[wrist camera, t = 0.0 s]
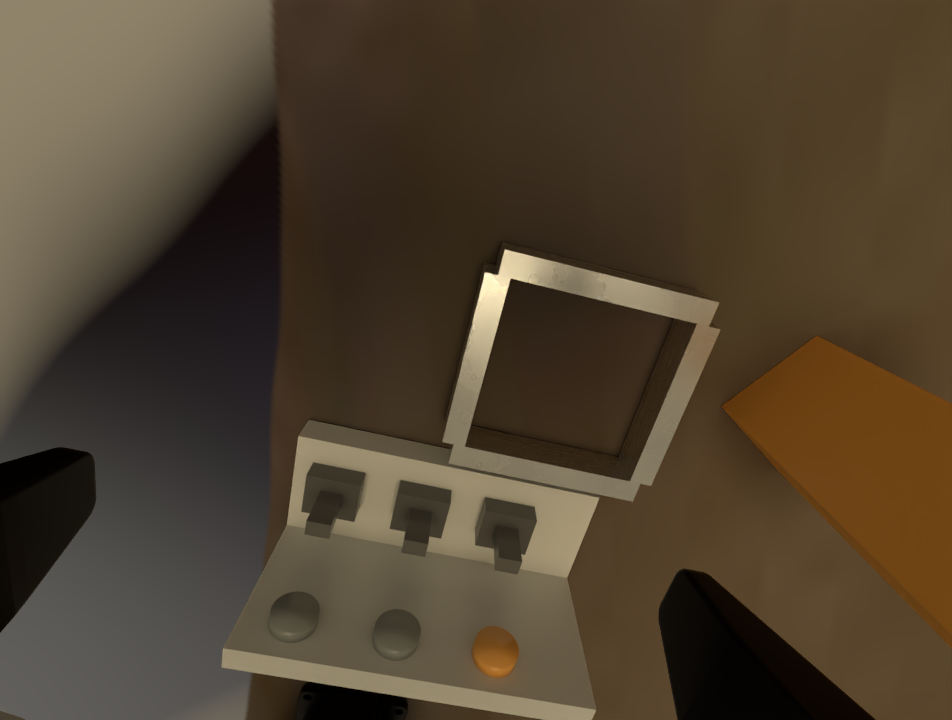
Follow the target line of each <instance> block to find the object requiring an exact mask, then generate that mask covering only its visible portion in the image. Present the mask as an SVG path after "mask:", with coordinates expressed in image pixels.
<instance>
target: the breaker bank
mask: <svg viewBox="0 0 952 720" xmlns="http://www.w3.org/2000/svg"><path fill="white" fill-rule="evenodd" d="M449 452H450V449H447V448H442V447H437V446H432V445H428V444H423V443H418V442H413V441H408V440H404V439H399V438H394V437H389V436H385V435H380V434H375V433H370V432H365V431H361V430H356V429H351V428H346V427H342V426H337V425H332V424H327V423H322V422H318V421H313V420H308V422H307V423H306V425H305V427H304V428H303V430H302V431H301V433H300V434H299V436H298V443H297V451H296V458H295V466H294V474H293V481H292V489H291V497H290V505H289V512H288V520H287V526H286V528H285V529H284V531H283V533H282V535H281V537H280V539H279V541H278V543H277V545H276V547H275V549H274V551H273V553H272V555H271V556H270V558H269V560H268V562H267V564H266V566H265V568H264V570H263V572H262V574H261V576H260V578H259V580H258V582H257V584H256V585H255V587H254V589H253V591H252V593H251V595H250V597H249V599H248V601H247V603H246V605H245V607H244V609H243V611H242V613H241V614H240V616H239V618H238V620H237V622H236V624H235V626H234V628H233V630H232V632H231V634H230V636H229V638H228V640H227V641H226V643H225V645H224V647H223V654H222V667H223V668H228V669H235V670H241V671H247V672H253V673H259V674H265V675H272V676H278V677H284V678H290V679H296V680H302V681H309V682H315V683H321V684H327V685H333V686H339V687H346V688H352V689H358V690H364V691H370V692H376V693H383V694H389V695H395V696H401V697H407V698H413V699H420V700H426V701H432V702H438V703H444V704H450V705H457V706H463V707H469V708H475V709H481V710H487V711H494V712H500V713H506V714H512V715H518V716H524V717H531V718H537V719H543V720H592V718H593V716H594V714H595V712H596V706H595V702H594V697H593V693H592V688H591V684H590V679H589V675H588V670H587V666H586V661H585V657H584V652H583V648H582V643H581V639H580V634H579V630H578V625H577V621H576V616H575V612H574V607H573V603H572V598H571V593H570V589H569V584H568V580H567V577H568V574H569V572H570V570H571V567H572V565H573V562H574V560H575V557H576V555H577V552H578V550H579V547H580V545H581V542H582V540H583V537H584V535H585V533H586V530H587V528H588V525H589V523H590V520H591V518H592V515H593V513H594V510H595V508H596V505H597V503H598V500H599V495H598V494H594V493H589V492H584V491H579V490H574V489H570V488H565V487H560V486H555V485H550V484H545V483H540V482H536V481H531V480H526V479H521V478H516V477H511V476H507V475H502V474H497V473H492V472H487V471H482V470H477V469H473V468H468V467H463V466H458V465H453V464H449Z"/></svg>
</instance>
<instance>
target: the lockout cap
mask: <svg viewBox="0 0 952 720" xmlns="http://www.w3.org/2000/svg"><path fill="white" fill-rule="evenodd" d="M721 407H722V408H723V409H724V410H725V411H726V412H727V414H728V415H729V416H730V417H731V418H732V419H733V420H734V422H735V423H736V424H737V425H738V426H739V427H740V428H741V429H742V431H743V432H744V433H745V434H746V435H747V436H748V437H749V439H750V440H751V441H752V442H753V443H754V444H755V445H756V447H757V448H758V449H759V450H760V451H761V452H762V453H763V455H764V456H765V457H766V458H767V459H768V460H769V461H770V462H771V464H772V465H773V466H774V467H775V468H776V469H777V470H778V472H779V473H780V474H781V475H782V476H783V477H784V478H785V479H786V480H787V481H788V482H789V483H790V484H791V485H792V486H793V487H794V488H795V489H796V490H797V491H798V492H799V493H800V494H801V495H802V496H803V497H804V498H805V499H806V500H807V501H808V502H809V503H810V504H811V505H812V506H813V507H814V508H815V509H816V510H817V511H818V512H819V513H820V514H821V515H822V516H823V517H824V518H825V519H826V521H827V522H828V523H829V524H830V525H831V526H832V527H833V528H834V529H835V530H836V531H837V532H838V533H839V534H840V535H841V536H842V537H843V538H844V539H845V540H846V541H847V542H848V543H849V544H850V545H851V546H852V547H853V548H854V549H855V550H856V551H857V552H858V553H859V554H860V555H861V556H862V557H863V558H864V559H865V560H866V561H867V562H868V563H869V564H870V565H871V566H872V567H873V568H874V569H875V570H876V571H877V572H878V573H879V575H880V576H881V577H882V578H883V579H884V580H885V581H886V582H887V583H888V584H889V585H890V586H891V587H892V588H893V589H894V590H895V591H896V592H897V593H898V594H899V595H900V596H901V597H902V598H903V599H904V600H905V601H906V602H907V603H908V604H909V605H910V606H911V607H912V608H913V609H914V610H915V611H916V612H917V613H918V614H919V615H920V616H921V617H922V618H923V619H924V620H925V621H926V622H927V623H928V624H929V625H930V626H931V627H932V629H933V630H934V631H935V632H936V633H937V634H938V635H939V636H940V637H941V638H942V639H943V640H944V641H945V642H946V643H947V644H948V645H949V646H950V647H951V648H952V404H951V403H949V402H947V401H945V400H943V399H941V398H939V397H937V396H935V395H933V394H932V393H930V392H928V391H926V390H924V389H922V388H920V387H918V386H916V385H914V384H912V383H910V382H908V381H906V380H904V379H902V378H900V377H898V376H896V375H894V374H892V373H890V372H888V371H886V370H884V369H882V368H880V367H878V366H876V365H874V364H872V363H870V362H868V361H866V360H864V359H862V358H860V357H858V356H856V355H854V354H852V353H850V352H849V351H847V350H845V349H843V348H841V347H839V346H837V345H835V344H833V343H831V342H829V341H827V340H825V339H823V338H821V337H819V336H816V337H814V338H813V339H812V340H810V341H809V342H807V343H806V344H805V345H803V346H802V347H801V348H799V349H798V350H797V351H795V352H794V353H793V354H791V355H790V356H789V357H787V358H786V359H784V360H783V361H782V362H780V363H779V364H778V365H776V366H775V367H774V368H772V369H771V370H770V371H768V372H767V373H766V374H764V375H763V376H761V377H760V378H759V379H757V380H756V381H755V382H753V383H752V384H751V385H749V386H748V387H747V388H745V389H744V390H743V391H741V392H740V393H738V394H737V395H736V396H734V397H733V398H732V399H730V400H729V401H728V402H726V403H725V404H724V405H722V406H721Z"/></svg>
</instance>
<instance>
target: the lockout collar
mask: <svg viewBox="0 0 952 720" xmlns="http://www.w3.org/2000/svg"><path fill="white" fill-rule="evenodd" d="M510 279H515V280H519V281H523V282H527V283H531V284H536V285H540V286H544V287H548V288H552V289H556V290H560V291H564V292H568V293H573V294H577V295H581V296H585V297H589V298H593V299H597V300H601V301H606V302H610V303H614V304H618V305H622V306H626V307H630V308H634V309H638V310H643V311H647V312H651V313H655V314H659V315H663V316H667V317H671V318H674V321H673V323H672V326H671V328H670V330H669V333H668V335H667V338H666V340H665V343H664V345H663V348H662V350H661V353H660V355H659V358H658V360H657V362H656V365H655V367H654V370H653V372H652V375H651V377H650V380H649V382H648V385H647V387H646V389H645V392H644V394H643V397H642V399H641V402H640V404H639V407H638V409H637V412H636V414H635V417H634V419H633V421H632V424H631V426H630V429H629V431H628V434H627V436H626V439H625V441H624V444H623V446H622V448H621V451H620V453H619V456H618V457H616V456H611V455H607V454H602V453H597V452H593V451H588V450H583V449H579V448H574V447H569V446H565V445H560V444H555V443H551V442H546V441H541V440H537V439H532V438H527V437H523V436H518V435H513V434H509V433H504V432H499V431H495V430H490V429H485V428H481V427H476V426H471V422H472V418H473V415H474V411H475V407H476V404H477V400H478V396H479V393H480V389H481V385H482V382H483V378H484V374H485V371H486V367H487V363H488V360H489V356H490V352H491V349H492V345H493V341H494V338H495V334H496V330H497V327H498V323H499V319H500V316H501V312H502V308H503V305H504V301H505V297H506V294H507V290H508V286H509V283H510ZM718 305H719V302H717V301H716V300H714V299H712V298H710V297H709V296H707V295H705V294H703V293H702V292H700V291H698V290H695V289H691V288H687V287H682V286H678V285H674V284H670V283H666V282H662V281H658V280H654V279H650V278H646V277H642V276H638V275H634V274H630V273H626V272H622V271H618V270H614V269H610V268H606V267H602V266H598V265H594V264H590V263H586V262H582V261H578V260H574V259H570V258H566V257H562V256H558V255H554V254H550V253H546V252H542V251H538V250H534V249H530V248H526V247H522V246H518V245H514V244H510V243H506V242H502V244H501V247H500V251H499V255H498V259H497V263H496V265H493V264H489V263H485V262H484V265H483V269H482V273H481V277H480V281H479V285H478V289H477V293H476V297H475V301H474V305H473V309H472V313H471V317H470V321H469V325H468V329H467V333H466V337H465V341H464V345H463V349H462V353H461V357H460V361H459V365H458V369H457V373H456V377H455V381H454V385H453V389H452V393H451V397H450V401H449V405H448V409H447V413H446V417H445V423H444V431H443V440H442V442H445V443H449V444H450V452H449V464H453V465H458V466H463V467H468V468H473V469H477V470H482V471H487V472H492V473H497V474H502V475H507V476H511V477H516V478H521V479H526V480H531V481H536V482H540V483H545V484H550V485H555V486H560V487H565V488H570V489H574V490H579V491H584V492H589V493H594V494H599V495H603V496H608V497H613V498H618V499H623V500H628V501H633V500H634V497H635V495H636V493H637V491H638V488H639V486H640V484H645V485H649V486H651V485H652V482H653V480H654V478H655V476H656V473H657V471H658V469H659V467H660V464H661V462H662V460H663V458H664V456H665V453H666V451H667V449H668V447H669V444H670V442H671V440H672V438H673V435H674V433H675V431H676V429H677V426H678V424H679V422H680V420H681V417H682V415H683V413H684V411H685V408H686V406H687V404H688V402H689V399H690V397H691V395H692V393H693V390H694V388H695V386H696V384H697V382H698V379H699V377H700V375H701V373H702V370H703V368H704V366H705V364H706V361H707V359H708V357H709V355H710V352H711V350H712V348H713V346H714V343H715V341H716V339H717V337H718V334H719V332H720V330H721V329H719V328H718V327H716V326H715V325H713V324H712V323H711V321H712V318H713V316H714V314H715V312H716V309H717V307H718Z"/></svg>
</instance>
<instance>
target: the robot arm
mask: <svg viewBox="0 0 952 720" xmlns="http://www.w3.org/2000/svg"><path fill="white" fill-rule="evenodd" d="M95 502H96V481H95V462H94V458H93V456H92V455H91V454H90V453H88V452H86V451H80V450H75V449H70V448H65V447H57V448H53V449H50V450H46V451H42V452H39V453H35V454H32V455H28V456H25V457H21V458H18V459H15V460H11V461H7V462H4V463H0V632H1V631H2V630H3V629H4V628H5V627H6V625H7V624H8V623H9V622H10V621H11V619H12V618H13V617H14V616H15V615H16V614H17V612H18V611H19V610H20V608H21V607H22V606H23V605H24V603H25V602H26V601H27V600H28V598H29V597H30V596H31V594H32V593H33V592H34V590H35V589H36V588H37V586H38V585H39V584H40V582H41V581H42V580H43V578H44V577H45V576H46V574H47V573H48V572H49V570H50V569H51V567H52V566H53V565H54V563H55V562H56V561H57V559H58V558H59V557H60V555H61V554H62V553H63V551H64V550H65V549H66V547H67V546H68V545H69V543H70V542H71V541H72V539H73V538H74V536H75V535H76V534H77V532H78V531H79V529H80V528H81V527H82V526H83V524H84V523H85V522H86V520H87V519H88V517H89V516H90V515H91V513H92V511H93V509H94V506H95ZM659 625H660V630H661V636H662V641H663V646H664V652H665V657H666V662H667V668H668V673H669V678H670V684H671V689H672V694H673V700H674V705H675V710H676V714H677V719H678V720H875V719H874V718H873V717H872V716H871V715H870V714H869V713H867V712H866V711H865V710H864V709H863V708H862V707H860V706H859V705H858V704H857V703H856V702H855V701H854V700H852V699H851V698H850V697H849V696H848V695H847V694H846V693H844V692H843V691H842V690H841V689H840V688H839V687H837V686H836V685H835V684H834V683H833V682H832V681H831V680H829V679H828V678H827V677H826V676H825V675H824V674H823V673H821V672H820V671H819V670H818V669H817V668H816V667H814V666H813V665H812V664H811V663H810V662H809V661H808V660H806V659H805V658H804V657H803V656H802V655H801V654H800V653H798V652H797V651H796V650H795V649H794V648H793V647H791V646H790V645H789V644H788V643H787V642H786V641H785V640H783V639H782V638H781V637H780V636H779V635H778V634H777V633H775V632H774V631H773V630H772V629H771V628H770V627H768V626H767V625H766V624H765V623H764V622H763V621H762V620H760V619H759V618H758V617H757V616H756V615H755V614H754V613H752V612H751V611H750V610H749V609H748V608H747V607H745V606H744V605H743V604H742V603H741V602H740V601H739V600H737V599H736V598H735V597H734V596H733V595H732V594H730V593H729V592H728V591H727V590H726V589H725V588H724V587H722V586H721V585H720V584H719V583H718V582H717V581H716V580H714V579H713V578H712V577H711V576H710V575H708V574H706V573H704V572H700V571H695V570H690V569H681V570H679V571H678V572H677V573H676V575H675V576H674V578H673V580H672V582H671V584H670V586H669V588H668V590H667V592H666V594H665V596H664V598H663V600H662V602H661V604H660V608H659ZM407 710H408V704H407V702H405V701H403V700H399V699H393V698H387V697H381V696H374V695H368V694H362V693H356V692H350V691H343V690H337V689H331V688H325V687H319V686H313V685H306V686H303V687H302V689H301V692H300V695H299V699H298V705H297V711H296V717H295V720H405V719H406V715H407Z"/></svg>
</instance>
